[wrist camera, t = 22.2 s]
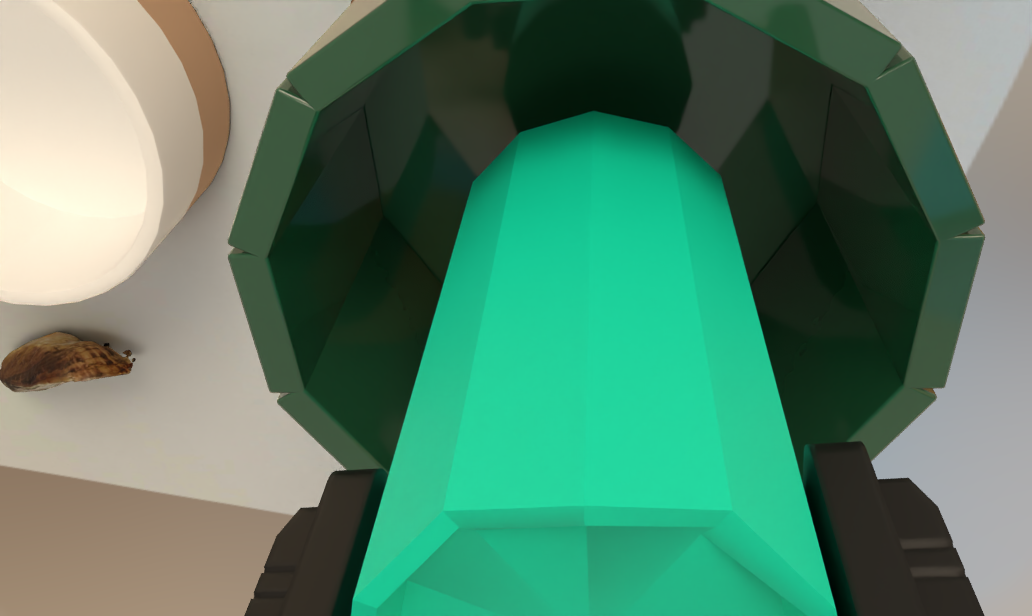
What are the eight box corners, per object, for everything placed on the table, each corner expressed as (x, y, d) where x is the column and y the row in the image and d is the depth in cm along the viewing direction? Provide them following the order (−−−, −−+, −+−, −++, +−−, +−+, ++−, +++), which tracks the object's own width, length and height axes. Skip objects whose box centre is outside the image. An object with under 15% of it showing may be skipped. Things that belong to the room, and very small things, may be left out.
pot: (815, 333, 26) (898, 563, 19) (392, 339, 28) (318, 554, 21) (975, -727, 14) (1383, -1226, 7) (204, -615, 16) (-145, -925, 8)
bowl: (251, -30, 40) (179, 19, 33) (215, 263, 49) (153, 348, 42) (-124, -158, 38) (-284, -134, 31) (-86, 172, 47) (-202, 246, 41)
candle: (782, 280, 19) (982, 895, 9) (554, 385, 21) (512, 968, 11) (649, 53, 16) (725, 567, 6) (406, 200, 18) (178, 747, 8)
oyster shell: (88, 328, 58) (142, 329, 51) (90, 381, 59) (145, 390, 51) (-11, 333, 54) (33, 335, 47) (-8, 390, 54) (36, 401, 47)
